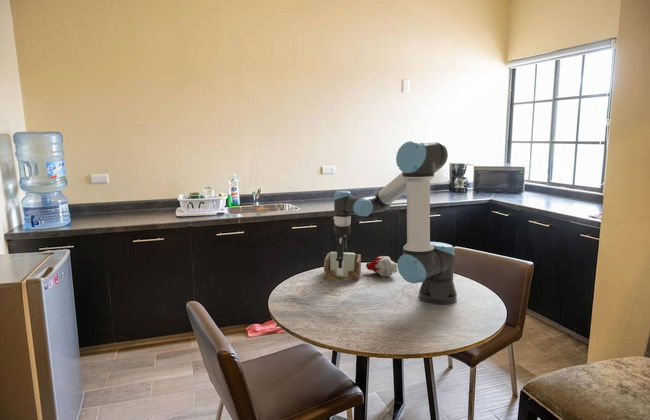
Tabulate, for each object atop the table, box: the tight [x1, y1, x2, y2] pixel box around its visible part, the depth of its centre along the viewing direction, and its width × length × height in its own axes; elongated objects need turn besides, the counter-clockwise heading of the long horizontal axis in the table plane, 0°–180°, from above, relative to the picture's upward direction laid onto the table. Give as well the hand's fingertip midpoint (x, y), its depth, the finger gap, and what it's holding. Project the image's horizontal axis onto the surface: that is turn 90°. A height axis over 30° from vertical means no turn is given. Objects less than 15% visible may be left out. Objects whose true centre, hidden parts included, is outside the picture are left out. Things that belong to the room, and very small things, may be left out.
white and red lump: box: [365, 255, 398, 277], centre depth 213 cm, size 9×11×15 cm
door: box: [329, 251, 356, 277], centre depth 207 cm, size 11×2×11 cm, turn 81°
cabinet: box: [323, 252, 362, 282], centre depth 210 cm, size 16×13×9 cm
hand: (342, 270), depth 207 cm, fingers open, 12 cm apart
